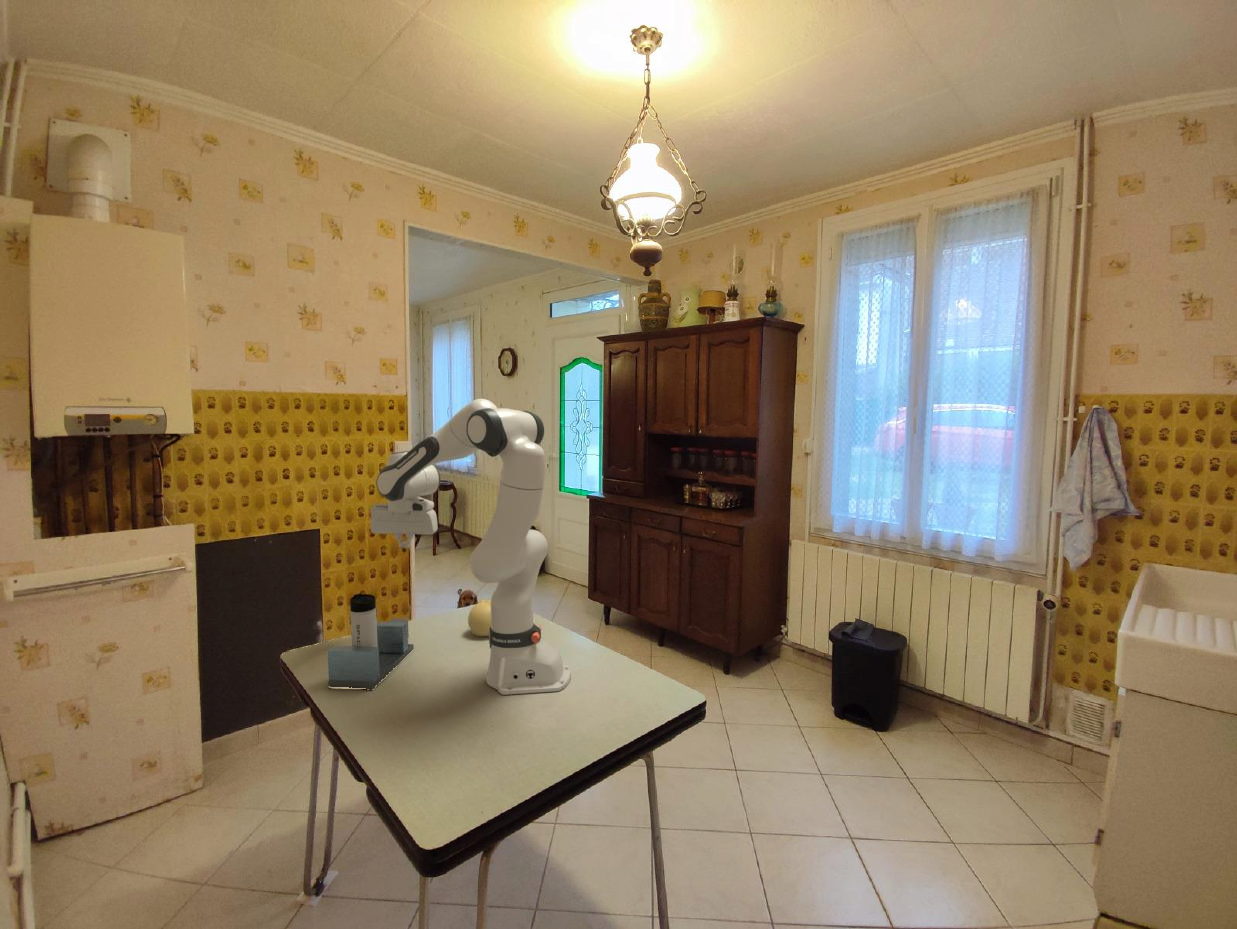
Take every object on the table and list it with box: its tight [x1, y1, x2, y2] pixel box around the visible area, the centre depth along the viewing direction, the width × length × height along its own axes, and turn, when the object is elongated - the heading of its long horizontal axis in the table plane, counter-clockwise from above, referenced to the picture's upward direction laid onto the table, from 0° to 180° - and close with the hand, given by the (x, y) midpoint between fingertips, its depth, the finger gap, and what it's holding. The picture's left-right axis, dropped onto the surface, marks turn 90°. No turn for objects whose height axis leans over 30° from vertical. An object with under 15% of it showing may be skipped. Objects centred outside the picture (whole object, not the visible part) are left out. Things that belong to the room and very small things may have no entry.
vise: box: [326, 643, 415, 690], centre depth 154 cm, size 24×12×10 cm, turn 176°
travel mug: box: [349, 592, 378, 647], centre depth 149 cm, size 6×7×20 cm
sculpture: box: [467, 598, 491, 637], centre depth 180 cm, size 11×12×11 cm
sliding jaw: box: [377, 618, 410, 653], centre depth 165 cm, size 11×12×8 cm
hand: (404, 547), depth 174 cm, fingers closed
